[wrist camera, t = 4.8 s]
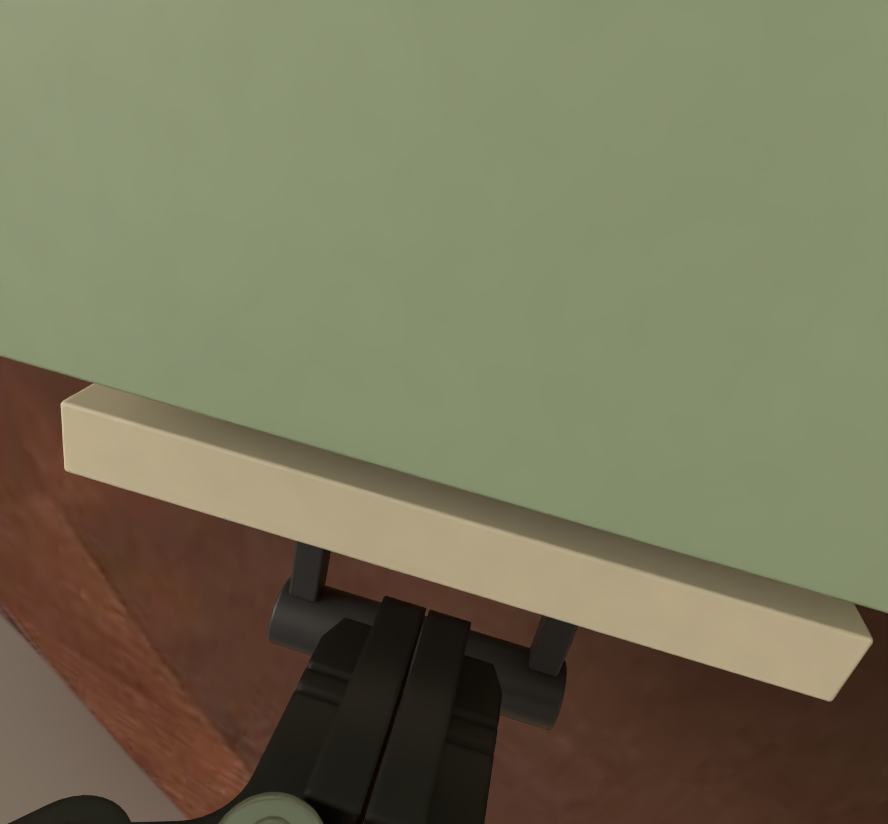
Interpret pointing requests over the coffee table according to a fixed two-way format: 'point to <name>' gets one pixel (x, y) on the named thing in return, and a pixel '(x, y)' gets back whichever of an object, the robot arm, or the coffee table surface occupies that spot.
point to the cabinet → (483, 247)
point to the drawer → (462, 555)
